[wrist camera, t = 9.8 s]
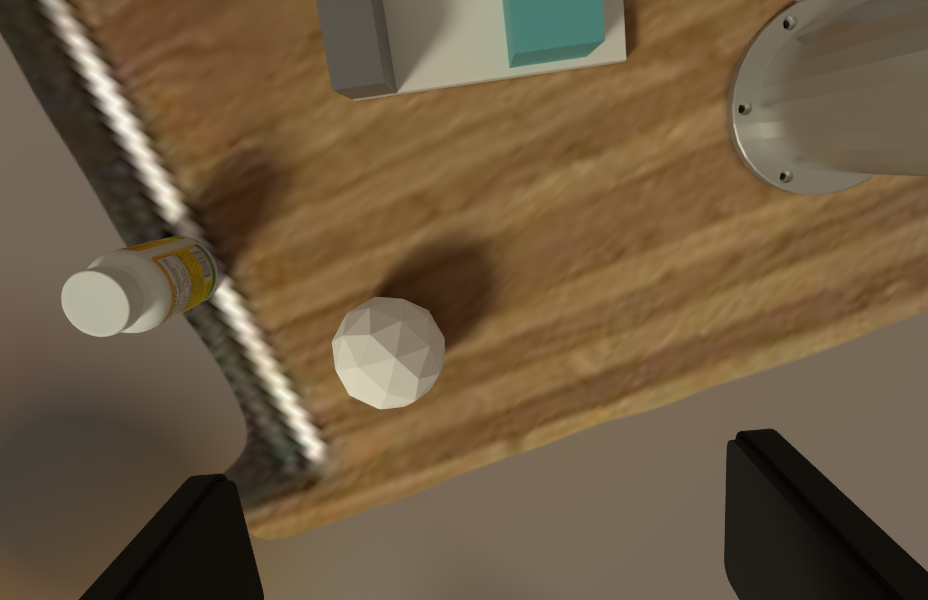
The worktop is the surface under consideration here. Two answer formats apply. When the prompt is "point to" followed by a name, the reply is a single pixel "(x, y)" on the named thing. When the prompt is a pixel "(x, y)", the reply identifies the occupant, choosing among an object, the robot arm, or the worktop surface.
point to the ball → (388, 352)
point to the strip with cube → (435, 45)
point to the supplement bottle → (140, 286)
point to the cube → (552, 30)
